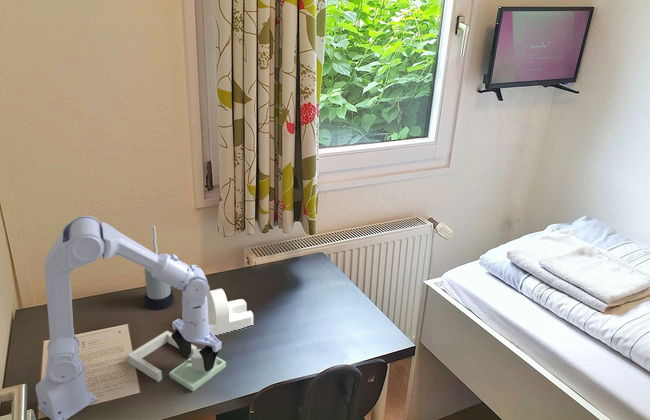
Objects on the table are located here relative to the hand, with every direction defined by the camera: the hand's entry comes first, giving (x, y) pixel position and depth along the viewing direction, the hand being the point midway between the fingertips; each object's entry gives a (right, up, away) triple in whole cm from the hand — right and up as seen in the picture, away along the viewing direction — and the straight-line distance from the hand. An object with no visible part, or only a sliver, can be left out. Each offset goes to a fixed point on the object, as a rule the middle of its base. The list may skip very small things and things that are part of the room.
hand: (197, 362), depth 126 cm
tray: (0, -3, +1) cm, 3 cm away
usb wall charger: (+1, -1, +1) cm, 2 cm away
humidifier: (-18, +10, +27) cm, 34 cm away
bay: (-10, 0, +5) cm, 11 cm away
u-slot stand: (+1, +5, +19) cm, 20 cm away
